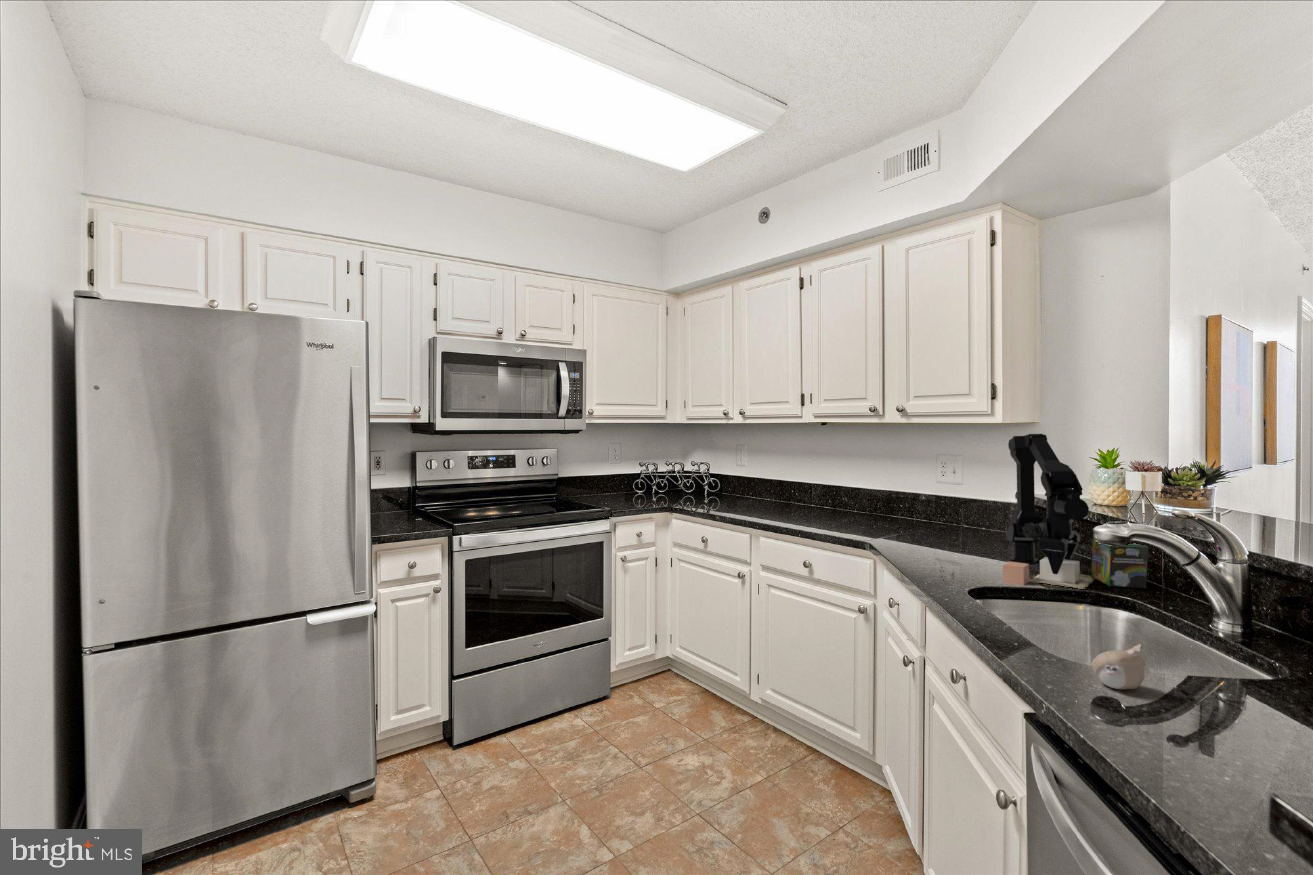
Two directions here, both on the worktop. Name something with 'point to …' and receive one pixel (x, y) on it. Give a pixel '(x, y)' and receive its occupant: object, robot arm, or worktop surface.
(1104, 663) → the beige toy figurine
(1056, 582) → the board
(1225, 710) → the worktop surface
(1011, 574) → the pink cube
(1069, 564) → the base brick
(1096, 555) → the chalk box
